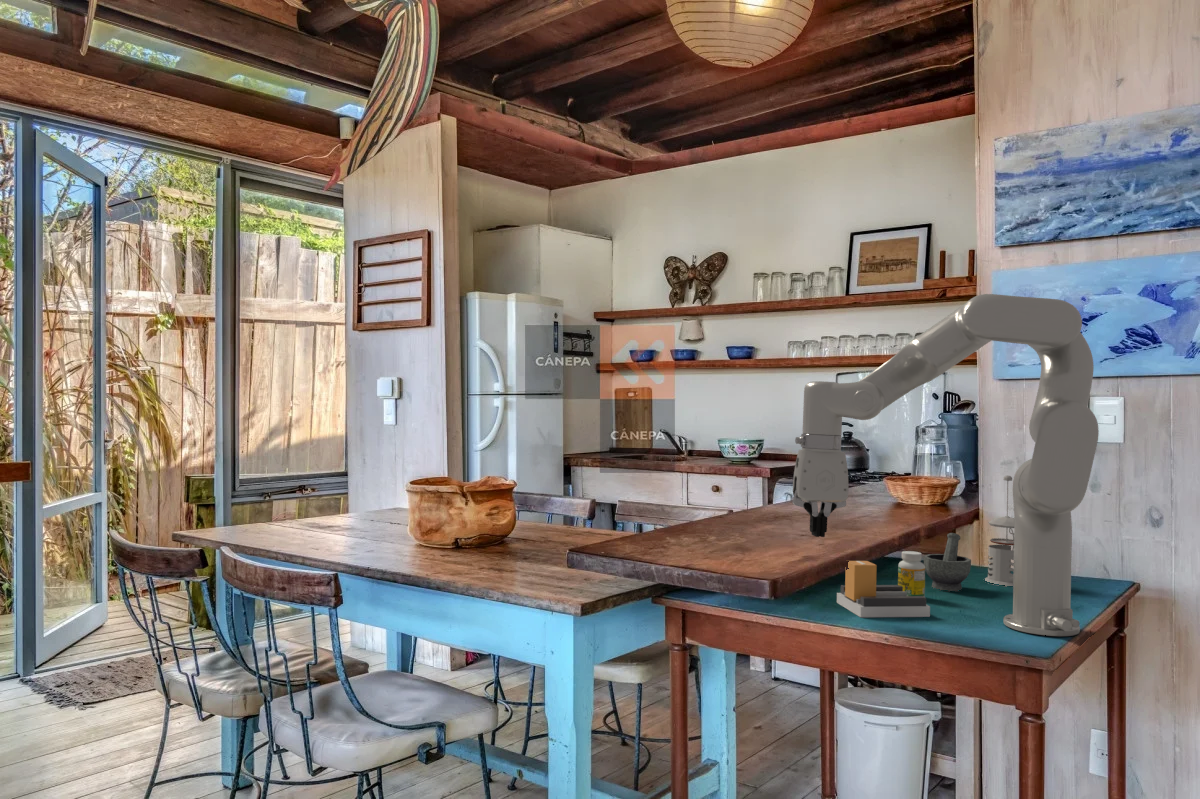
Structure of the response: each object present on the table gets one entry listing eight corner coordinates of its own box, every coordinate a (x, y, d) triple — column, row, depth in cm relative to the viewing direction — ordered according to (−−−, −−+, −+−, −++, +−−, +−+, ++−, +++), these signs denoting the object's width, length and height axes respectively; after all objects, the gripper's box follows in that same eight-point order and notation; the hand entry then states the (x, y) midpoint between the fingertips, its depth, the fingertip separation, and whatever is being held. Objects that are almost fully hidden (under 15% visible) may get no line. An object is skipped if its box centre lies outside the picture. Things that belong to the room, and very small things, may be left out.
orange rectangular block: (875, 600, 169) (876, 564, 169) (853, 600, 169) (854, 564, 169) (866, 595, 174) (867, 560, 174) (845, 595, 173) (845, 560, 173)
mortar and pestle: (962, 595, 186) (963, 540, 186) (918, 589, 191) (919, 535, 191) (976, 586, 195) (977, 534, 195) (933, 581, 200) (934, 529, 200)
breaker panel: (929, 616, 166) (930, 598, 166) (860, 617, 165) (860, 598, 165) (901, 602, 178) (902, 584, 178) (836, 602, 177) (837, 585, 177)
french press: (976, 581, 200) (978, 474, 200) (995, 575, 208) (997, 472, 208) (1020, 589, 193) (1022, 478, 193) (1038, 582, 201) (1040, 475, 201)
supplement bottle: (930, 599, 181) (930, 554, 181) (908, 601, 179) (909, 555, 179) (913, 594, 186) (914, 549, 186) (892, 595, 184) (893, 550, 184)
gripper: (791, 443, 166) (787, 538, 166) (865, 446, 167) (861, 539, 167) (778, 441, 173) (775, 532, 173) (850, 443, 175) (846, 533, 175)
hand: (818, 535), depth 170 cm, fingers closed
